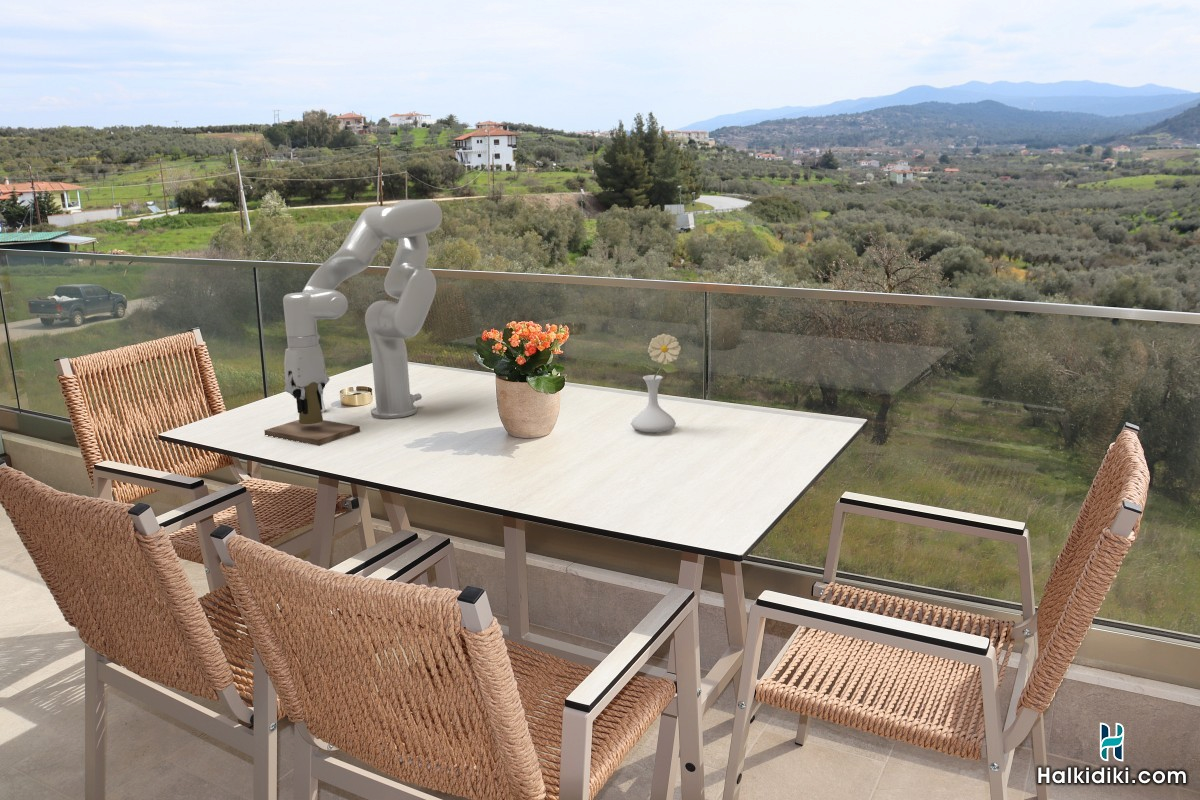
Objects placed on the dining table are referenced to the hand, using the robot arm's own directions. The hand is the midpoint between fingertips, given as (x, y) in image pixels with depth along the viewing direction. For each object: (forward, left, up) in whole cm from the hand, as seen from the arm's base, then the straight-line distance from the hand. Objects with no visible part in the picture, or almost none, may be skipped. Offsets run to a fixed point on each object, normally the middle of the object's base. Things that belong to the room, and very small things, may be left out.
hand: (310, 410), depth 236 cm
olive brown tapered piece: (0, 0, -3) cm, 3 cm away
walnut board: (0, 0, -6) cm, 6 cm away
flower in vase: (-42, +79, -6) cm, 90 cm away
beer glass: (-16, -17, -6) cm, 24 cm away
